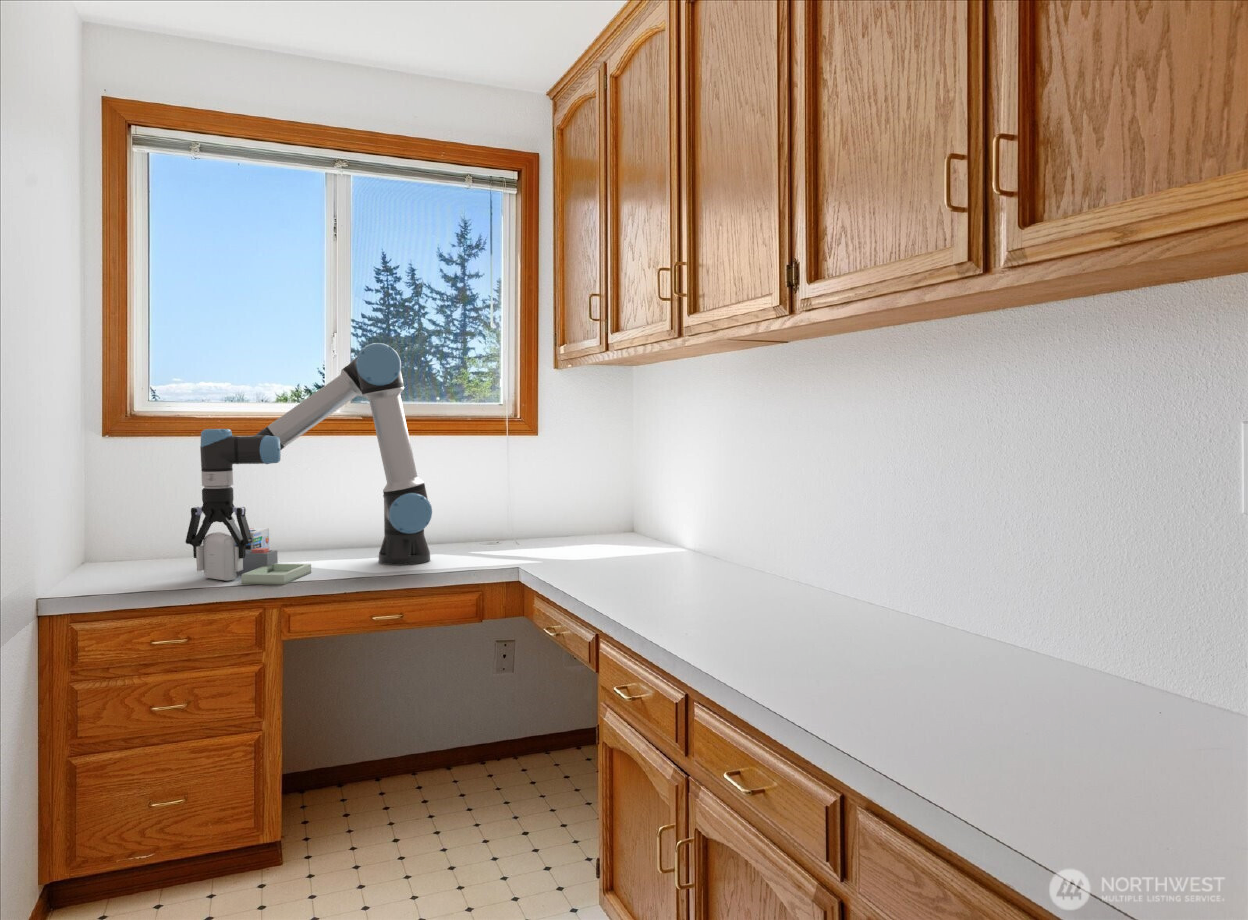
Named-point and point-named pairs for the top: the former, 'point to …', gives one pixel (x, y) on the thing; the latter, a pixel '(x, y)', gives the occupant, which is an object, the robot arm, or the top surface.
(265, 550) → the button
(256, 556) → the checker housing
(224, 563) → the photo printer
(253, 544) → the light bulb box
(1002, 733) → the top surface
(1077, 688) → the top surface
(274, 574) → the pale green tray
